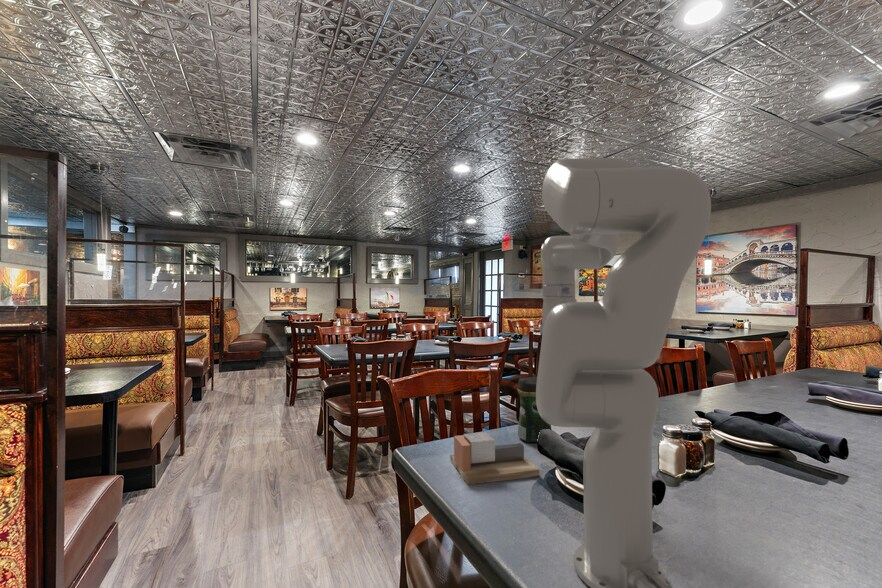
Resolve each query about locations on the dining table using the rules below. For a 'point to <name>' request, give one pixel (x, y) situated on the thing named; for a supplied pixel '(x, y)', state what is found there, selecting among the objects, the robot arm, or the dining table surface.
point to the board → (498, 471)
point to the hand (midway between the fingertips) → (559, 364)
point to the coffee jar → (529, 411)
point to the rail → (506, 454)
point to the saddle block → (481, 447)
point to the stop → (462, 453)
